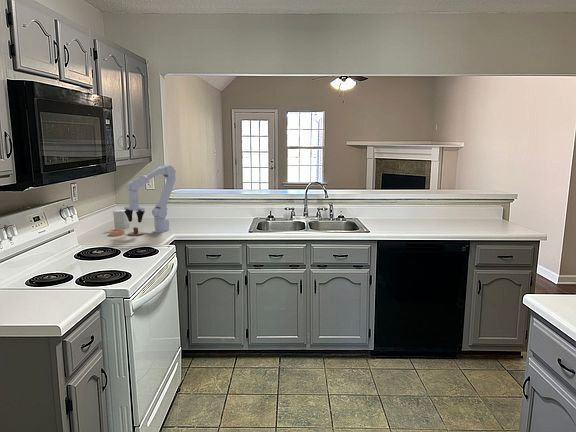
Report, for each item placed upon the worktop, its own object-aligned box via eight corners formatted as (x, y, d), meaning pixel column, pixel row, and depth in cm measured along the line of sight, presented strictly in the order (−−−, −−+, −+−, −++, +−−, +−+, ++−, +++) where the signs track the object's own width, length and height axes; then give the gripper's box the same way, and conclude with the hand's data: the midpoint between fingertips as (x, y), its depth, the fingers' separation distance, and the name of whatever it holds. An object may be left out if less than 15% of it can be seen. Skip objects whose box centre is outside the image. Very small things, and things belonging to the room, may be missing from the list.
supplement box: (129, 227, 309) (128, 209, 307) (124, 229, 302) (123, 211, 300) (119, 227, 310) (118, 209, 308) (114, 229, 303) (112, 211, 301)
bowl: (116, 233, 290) (116, 228, 290) (127, 234, 287) (127, 229, 286) (106, 235, 282) (105, 231, 282) (117, 236, 279) (117, 232, 278)
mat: (136, 232, 292) (136, 231, 291) (149, 233, 287) (149, 233, 287) (124, 235, 282) (124, 235, 282) (137, 237, 277) (137, 236, 277)
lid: (135, 232, 290) (135, 225, 289) (147, 233, 286) (146, 226, 285) (124, 235, 281) (124, 228, 280) (136, 236, 277) (136, 229, 276)
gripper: (120, 200, 279) (121, 222, 281) (138, 201, 273) (139, 223, 276) (128, 199, 285) (129, 220, 288) (146, 200, 280) (147, 221, 282)
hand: (135, 221), depth 282 cm, fingers open, 7 cm apart
